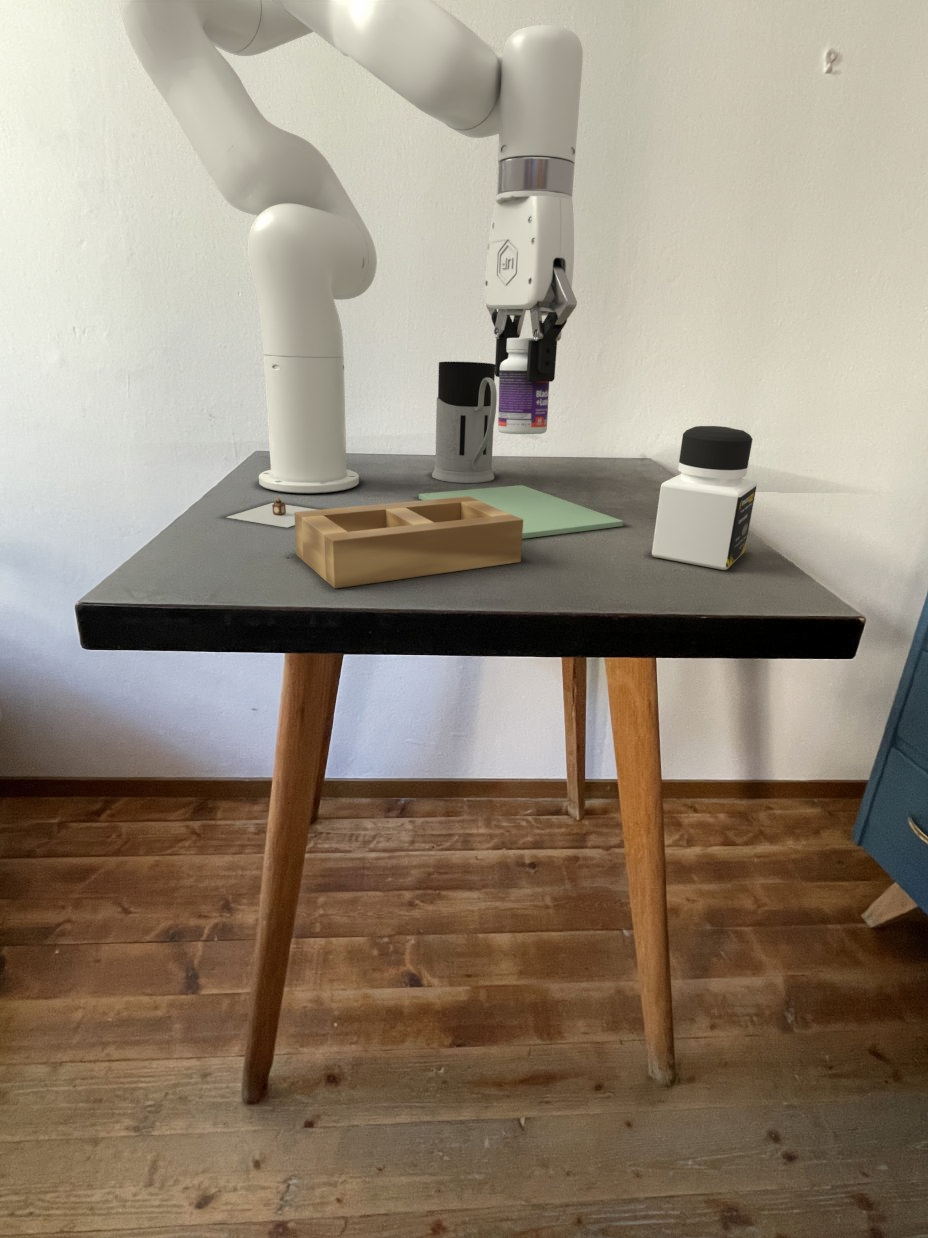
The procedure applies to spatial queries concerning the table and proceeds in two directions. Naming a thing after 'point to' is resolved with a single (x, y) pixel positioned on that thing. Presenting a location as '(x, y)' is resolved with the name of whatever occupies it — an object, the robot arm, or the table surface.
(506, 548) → the holder
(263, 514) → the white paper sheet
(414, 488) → the table surface
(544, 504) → the mat
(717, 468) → the medicine bottle
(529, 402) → the pill bottle
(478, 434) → the glass holder
